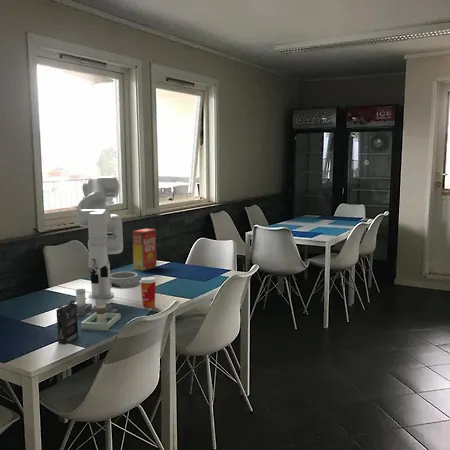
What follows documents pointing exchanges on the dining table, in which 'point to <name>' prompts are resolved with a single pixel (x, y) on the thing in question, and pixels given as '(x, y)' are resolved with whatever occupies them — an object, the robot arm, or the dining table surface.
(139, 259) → the food packaging
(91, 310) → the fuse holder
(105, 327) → the parts tray
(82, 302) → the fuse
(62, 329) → the geiger counter
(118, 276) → the dog bowl
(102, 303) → the fuse
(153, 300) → the paper cup
